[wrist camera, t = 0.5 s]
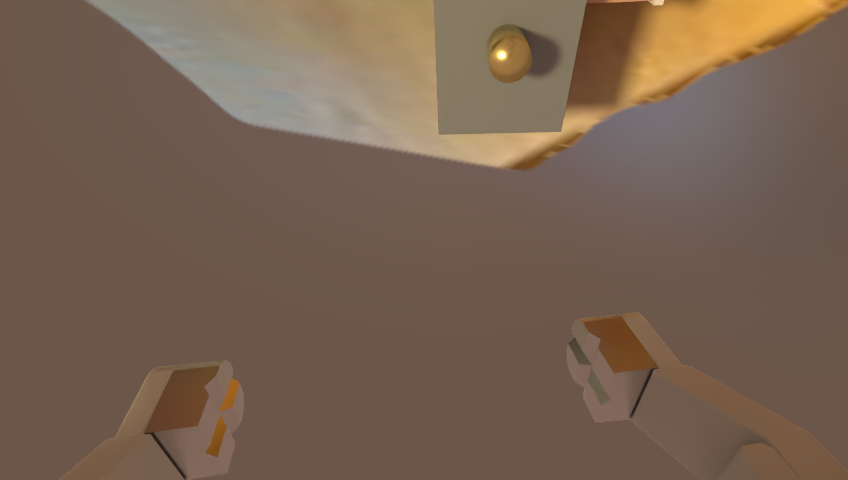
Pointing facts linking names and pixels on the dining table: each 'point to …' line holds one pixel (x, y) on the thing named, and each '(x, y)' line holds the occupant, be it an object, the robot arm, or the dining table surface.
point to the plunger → (653, 0)
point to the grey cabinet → (470, 74)
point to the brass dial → (508, 53)
